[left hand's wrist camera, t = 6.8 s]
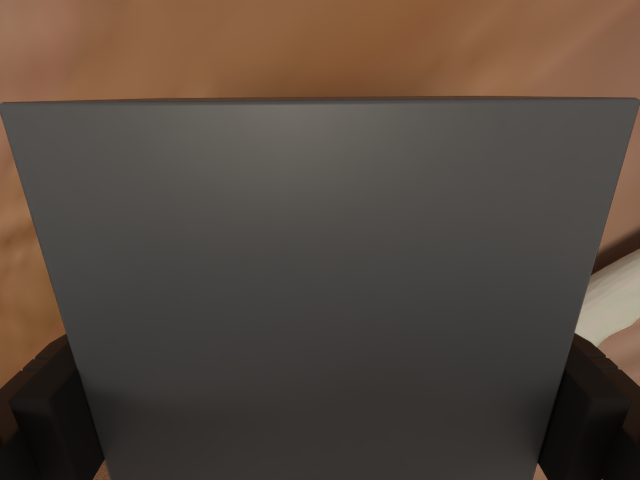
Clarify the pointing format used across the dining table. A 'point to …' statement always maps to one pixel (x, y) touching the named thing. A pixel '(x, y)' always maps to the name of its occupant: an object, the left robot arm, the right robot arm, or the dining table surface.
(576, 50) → the dining table surface
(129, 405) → the slab
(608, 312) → the tape dispenser
